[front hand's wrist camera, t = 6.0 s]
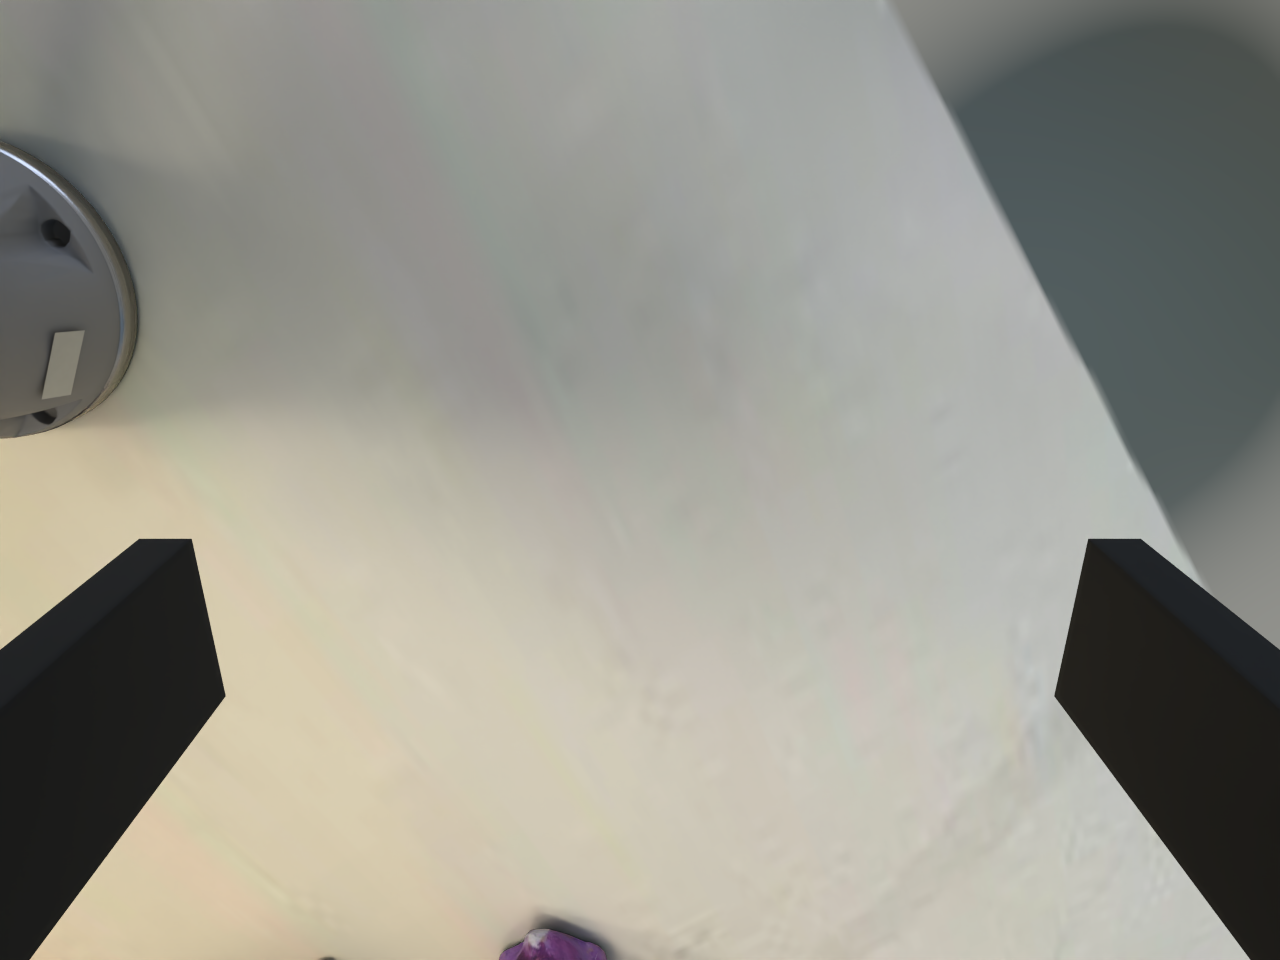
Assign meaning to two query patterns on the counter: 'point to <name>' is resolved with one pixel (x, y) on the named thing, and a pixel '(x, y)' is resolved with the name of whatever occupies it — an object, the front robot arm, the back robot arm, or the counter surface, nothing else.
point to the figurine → (553, 948)
